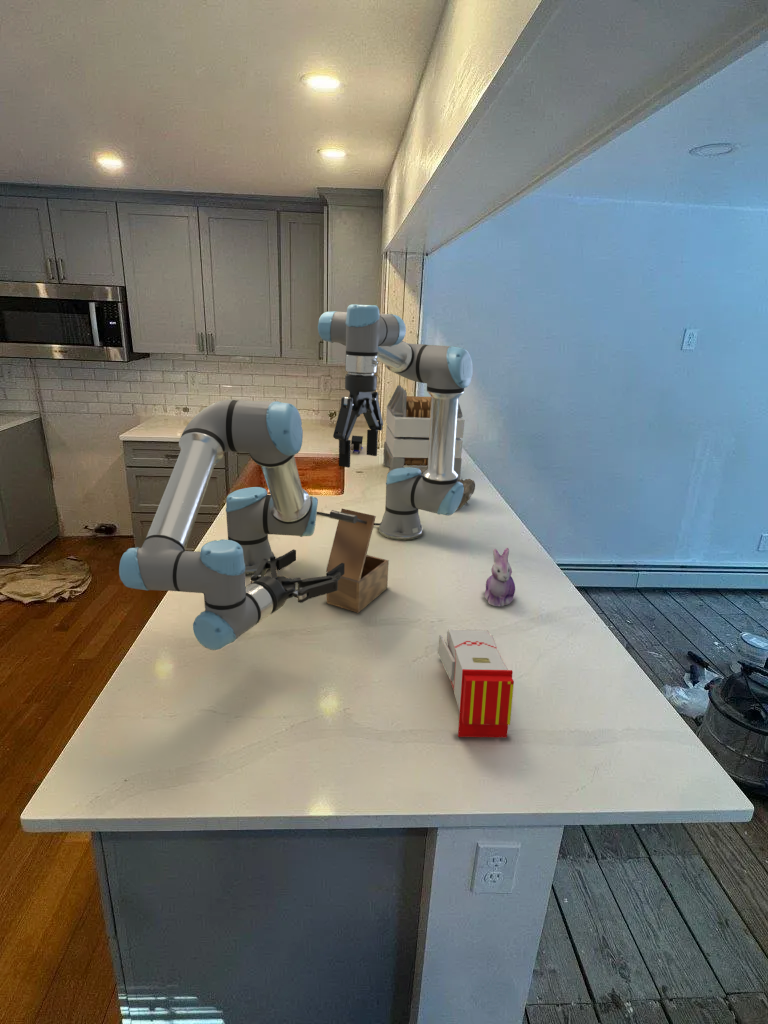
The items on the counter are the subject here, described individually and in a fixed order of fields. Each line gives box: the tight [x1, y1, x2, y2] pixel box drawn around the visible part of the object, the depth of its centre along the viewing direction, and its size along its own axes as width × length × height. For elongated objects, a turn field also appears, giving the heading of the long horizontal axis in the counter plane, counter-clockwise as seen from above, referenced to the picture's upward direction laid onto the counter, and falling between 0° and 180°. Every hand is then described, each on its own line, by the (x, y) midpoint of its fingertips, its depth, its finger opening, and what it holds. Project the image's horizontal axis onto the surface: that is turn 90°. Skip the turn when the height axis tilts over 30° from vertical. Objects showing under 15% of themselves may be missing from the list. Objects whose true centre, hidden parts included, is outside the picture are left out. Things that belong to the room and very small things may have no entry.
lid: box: [325, 508, 377, 581], centre depth 143 cm, size 17×10×9 cm
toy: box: [437, 628, 515, 738], centre depth 117 cm, size 12×13×30 cm
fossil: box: [457, 478, 476, 510], centre depth 232 cm, size 22×10×15 cm
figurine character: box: [350, 435, 364, 454], centre depth 309 cm, size 7×8×15 cm
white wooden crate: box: [383, 384, 465, 480], centre depth 268 cm, size 34×33×41 cm
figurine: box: [484, 547, 516, 607], centre depth 155 cm, size 9×10×15 cm
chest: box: [326, 554, 390, 614], centre depth 154 cm, size 16×10×9 cm, turn 152°
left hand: (318, 561), depth 133 cm, fingers open, 13 cm apart
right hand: (358, 460), depth 141 cm, fingers open, 13 cm apart
